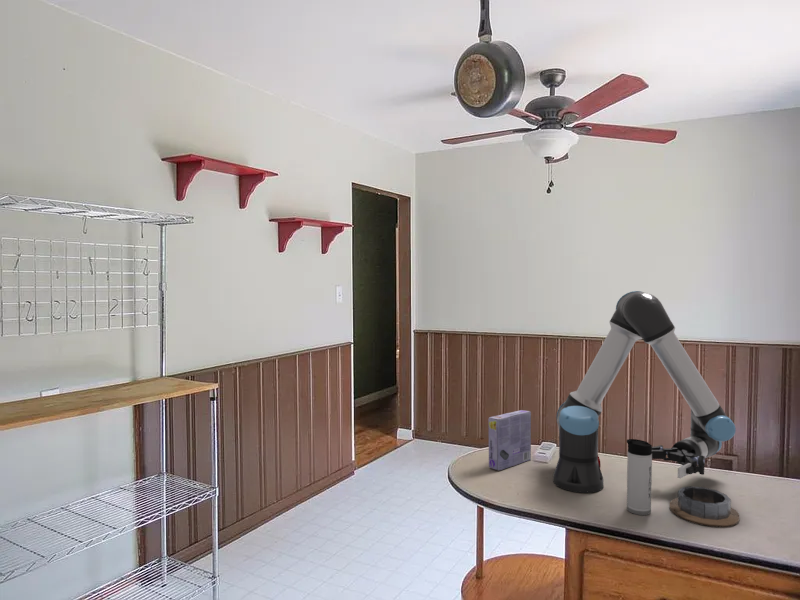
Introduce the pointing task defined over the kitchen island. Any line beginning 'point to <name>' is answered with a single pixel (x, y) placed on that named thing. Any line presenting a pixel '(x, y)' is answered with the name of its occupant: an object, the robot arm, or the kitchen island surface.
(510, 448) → the cake pan box
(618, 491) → the kitchen island surface
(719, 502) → the ring collar
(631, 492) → the travel mug
